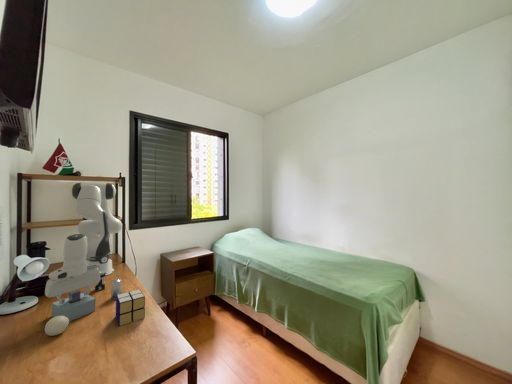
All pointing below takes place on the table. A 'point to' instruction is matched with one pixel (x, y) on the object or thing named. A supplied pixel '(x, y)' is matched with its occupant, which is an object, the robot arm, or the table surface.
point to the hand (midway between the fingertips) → (74, 299)
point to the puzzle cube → (130, 307)
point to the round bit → (116, 288)
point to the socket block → (74, 307)
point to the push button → (99, 285)
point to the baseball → (56, 325)
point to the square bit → (74, 296)
